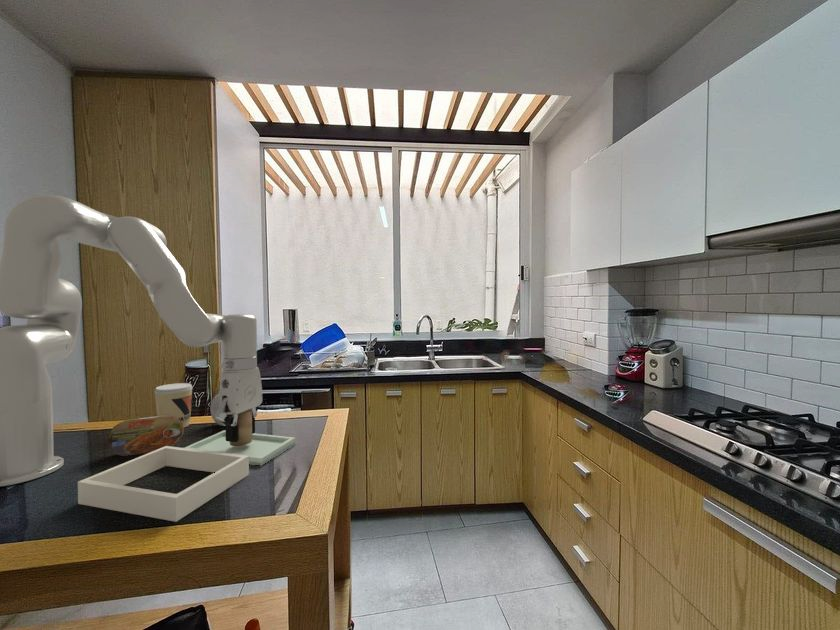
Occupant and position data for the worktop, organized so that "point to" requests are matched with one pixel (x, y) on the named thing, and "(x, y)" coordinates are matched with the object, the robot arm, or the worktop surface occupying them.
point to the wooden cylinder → (244, 428)
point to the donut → (215, 409)
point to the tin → (144, 435)
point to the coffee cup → (174, 401)
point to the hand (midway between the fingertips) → (240, 436)
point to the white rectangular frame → (156, 504)
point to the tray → (247, 446)
